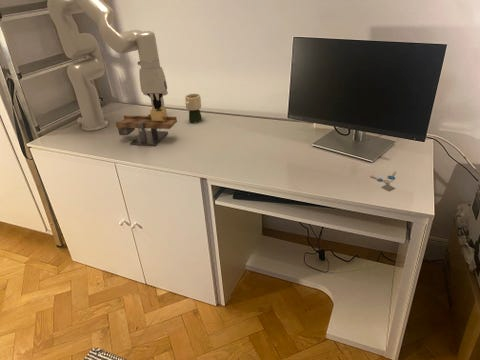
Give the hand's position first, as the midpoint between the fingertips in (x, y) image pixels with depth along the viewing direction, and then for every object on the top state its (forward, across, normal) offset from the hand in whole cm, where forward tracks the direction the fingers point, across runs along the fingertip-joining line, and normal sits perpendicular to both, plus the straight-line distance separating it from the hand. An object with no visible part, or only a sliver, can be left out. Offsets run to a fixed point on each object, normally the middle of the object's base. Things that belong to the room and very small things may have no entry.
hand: (158, 108), depth 158 cm
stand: (+15, -7, 0) cm, 16 cm away
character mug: (+15, +7, +23) cm, 28 cm away
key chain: (+16, +90, -24) cm, 95 cm away
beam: (+12, -7, 0) cm, 13 cm away
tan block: (+6, 0, 0) cm, 6 cm away
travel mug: (+15, -14, +28) cm, 35 cm away
